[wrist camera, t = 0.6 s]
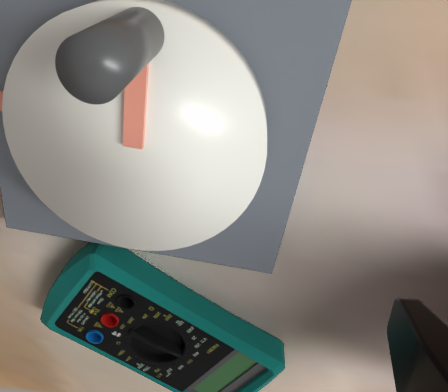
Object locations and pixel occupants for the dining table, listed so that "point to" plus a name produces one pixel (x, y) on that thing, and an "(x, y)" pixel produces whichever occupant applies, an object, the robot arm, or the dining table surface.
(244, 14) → the base plate
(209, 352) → the digital multimeter
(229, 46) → the dial
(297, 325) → the dining table surface
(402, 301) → the robot arm
